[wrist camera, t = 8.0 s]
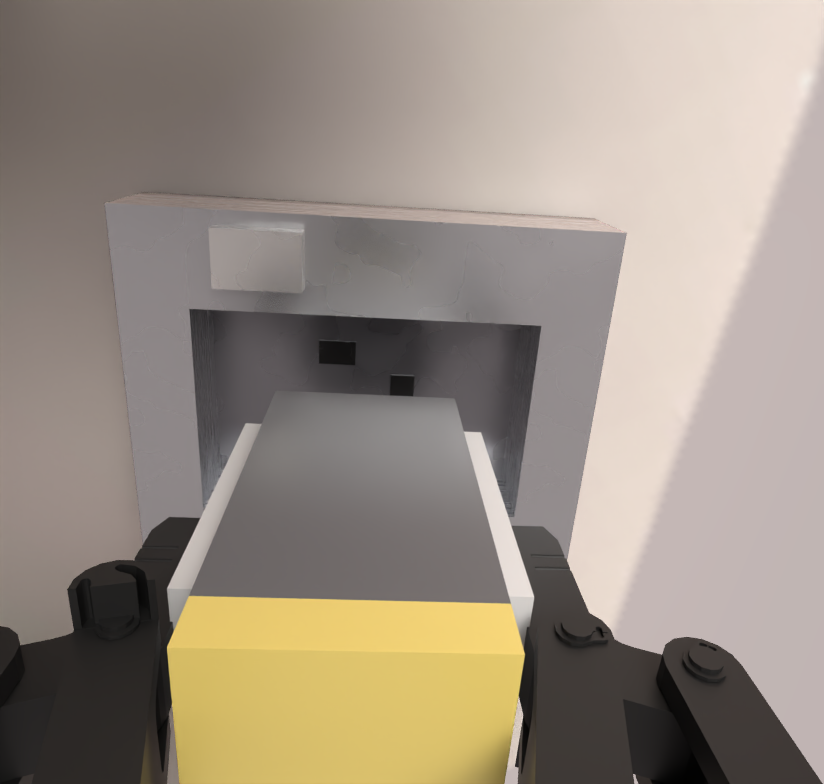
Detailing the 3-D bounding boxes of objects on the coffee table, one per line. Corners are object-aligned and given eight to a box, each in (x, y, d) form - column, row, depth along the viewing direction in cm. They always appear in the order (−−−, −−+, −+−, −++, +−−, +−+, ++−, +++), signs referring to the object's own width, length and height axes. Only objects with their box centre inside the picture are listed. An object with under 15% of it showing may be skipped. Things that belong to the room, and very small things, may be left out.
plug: (277, 542, 18) (189, 885, 10) (275, 390, 17) (166, 647, 8) (441, 547, 19) (488, 885, 10) (454, 398, 17) (524, 654, 9)
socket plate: (173, 525, 24) (140, 589, 21) (143, 192, 20) (95, 205, 16) (542, 536, 25) (566, 598, 22) (593, 218, 21) (634, 236, 17)
